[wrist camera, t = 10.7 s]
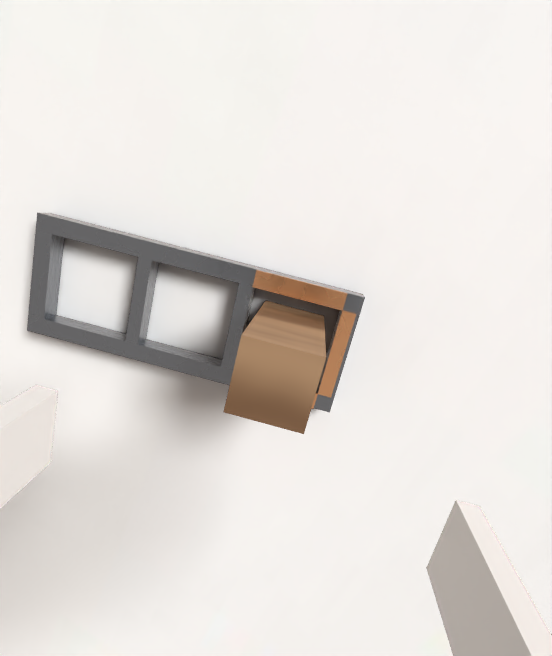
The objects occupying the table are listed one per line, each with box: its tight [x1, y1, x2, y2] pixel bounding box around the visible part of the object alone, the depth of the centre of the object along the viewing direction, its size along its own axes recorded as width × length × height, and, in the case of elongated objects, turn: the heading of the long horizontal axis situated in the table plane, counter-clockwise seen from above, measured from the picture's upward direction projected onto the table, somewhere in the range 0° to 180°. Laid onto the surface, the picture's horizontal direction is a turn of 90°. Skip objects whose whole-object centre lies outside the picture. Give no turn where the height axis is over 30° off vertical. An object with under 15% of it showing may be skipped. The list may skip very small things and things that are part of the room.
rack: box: [27, 213, 365, 412], centre depth 31 cm, size 9×24×2 cm, turn 76°
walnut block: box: [224, 301, 326, 434], centre depth 27 cm, size 4×4×10 cm
